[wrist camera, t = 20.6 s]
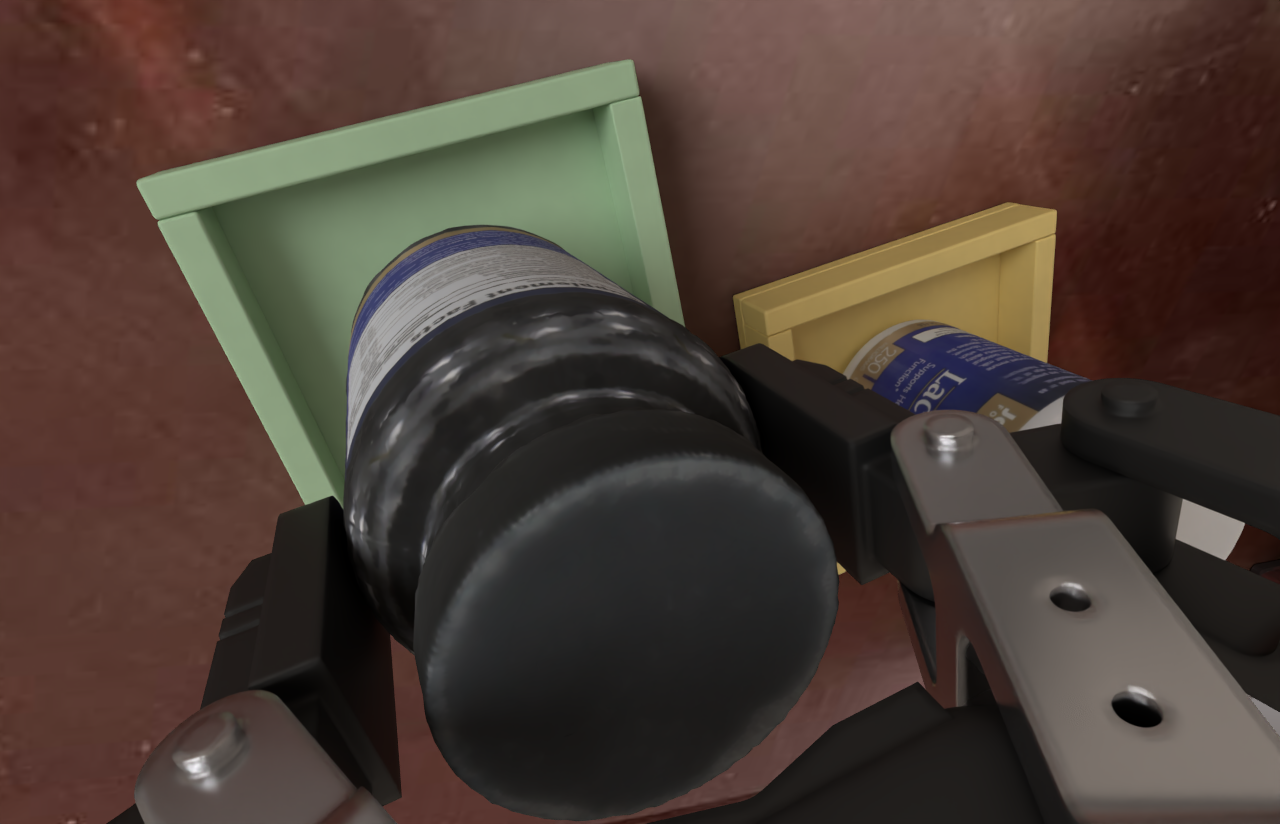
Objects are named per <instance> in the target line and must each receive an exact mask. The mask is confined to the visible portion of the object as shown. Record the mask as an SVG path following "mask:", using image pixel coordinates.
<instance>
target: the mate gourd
mask: <svg viewBox="0 0 1280 824" xmlns="http://www.w3.org/2000/svg"><path fill="white" fill-rule="evenodd" d="M1250 572H1252V573H1255V574H1257V575H1259V576H1262V577H1264V578H1266V579H1268V580H1271V581H1273V582H1275V583H1278V584H1280V560H1276V561H1271V562H1266V563H1260V564H1256V565H1254V566H1253V567H1252V569H1251V571H1250Z"/></svg>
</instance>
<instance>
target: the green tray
mask: <svg viewBox="0 0 1280 824" xmlns="http://www.w3.org/2000/svg"><path fill="white" fill-rule="evenodd" d="M638 95H639V87H638V81H637V76H636V71H635V66H634V62H633V60H630V59H628V60H622V61H616V62H609V63H604V64H600V65H596V66H591V67H587V68H583V69H579V70H575V71H571V72H567V73H563V74H559V75H555V76H550V77H546V78H542V79H538V80H534V81H530V82H526V83H522V84H518V85H513V86H509V87H505V88H501V89H497V90H493V91H489V92H485V93H481V94H477V95H472V96H468V97H464V98H460V99H456V100H452V101H448V102H444V103H440V104H436V105H431V106H427V107H423V108H419V109H415V110H411V111H407V112H403V113H399V114H395V115H390V116H386V117H382V118H378V119H374V120H370V121H366V122H362V123H358V124H354V125H349V126H345V127H341V128H337V129H333V130H329V131H325V132H321V133H317V134H312V135H308V136H304V137H300V138H296V139H292V140H288V141H284V142H280V143H276V144H271V145H267V146H263V147H259V148H255V149H251V150H247V151H243V152H239V153H235V154H230V155H226V156H222V157H218V158H214V159H210V160H206V161H202V162H198V163H194V164H189V165H185V166H181V167H177V168H173V169H169V170H165V171H161V172H158V173H155V174H152V175H150V176H147V177H144V178H141V179H139V180H138V181H136V182H137V187H138V188H139V190H140V192H141V194H142V196H143V198H144V200H145V202H146V204H147V206H148V207H149V209H150V211H151V213H152V215H153V217H154V218H156V219H158V220H160V221H158V227H159V228H160V230H161V232H162V234H163V236H164V238H165V240H166V242H167V244H168V245H169V247H170V249H171V251H172V253H173V255H174V257H175V259H176V261H177V263H178V264H179V266H180V268H181V270H182V272H183V274H184V276H185V278H186V280H187V281H188V283H189V285H190V287H191V289H192V291H193V293H194V295H195V297H196V299H197V300H198V302H199V304H200V306H201V308H202V310H203V312H204V314H205V316H206V317H207V319H208V321H209V323H210V325H211V327H212V329H213V331H214V333H215V335H216V336H217V338H218V340H219V342H220V344H221V346H222V348H223V350H224V352H225V353H226V355H227V357H228V359H229V361H230V363H231V365H232V367H233V369H234V371H235V372H236V374H237V376H238V378H239V380H240V382H241V384H242V386H243V388H244V389H245V391H246V393H247V395H248V397H249V399H250V401H251V403H252V405H253V407H254V408H255V410H256V412H257V414H258V416H259V418H260V420H261V422H262V424H263V426H264V427H265V429H266V431H267V433H268V435H269V437H270V439H271V441H272V443H273V444H274V446H275V448H276V450H277V452H278V454H279V456H280V458H281V460H282V462H283V463H284V465H285V467H286V469H287V471H288V473H289V475H290V477H291V479H292V480H293V482H294V484H295V486H296V488H297V490H298V492H299V494H300V496H301V498H302V499H303V501H304V503H305V505H307V504H310V503H312V502H315V501H318V500H321V499H324V498H326V497H329V496H334V497H335V498H336V499H337V500H338V502H339V503H340V505H341V506H342V508H343V497H344V483H345V458H346V415H347V395H346V378H347V371H348V353H349V344H350V338H351V329H352V324H353V319H354V316H355V314H356V311H357V308H358V306H359V304H360V302H361V299H362V297H363V294H364V292H365V290H366V288H367V286H368V285H369V283H370V282H371V280H372V279H373V278H374V277H375V275H377V274H378V273H379V272H380V271H381V270H382V269H383V268H384V267H385V266H386V265H387V264H388V263H389V262H390V261H392V260H393V259H394V258H395V257H396V256H397V255H398V254H400V253H401V252H402V251H403V250H404V249H406V248H407V247H408V246H410V245H411V244H413V243H414V242H416V241H418V240H420V239H422V238H424V237H427V236H430V235H432V234H435V233H438V232H440V231H443V230H445V229H447V228H452V227H459V226H468V225H497V226H508V227H513V228H518V229H522V230H525V231H527V232H530V233H533V234H536V235H538V236H540V237H543V238H545V239H547V240H550V241H552V242H554V243H556V244H557V245H559V246H560V247H562V248H563V249H564V250H565V251H566V252H568V253H570V254H571V255H573V256H574V257H576V258H577V259H579V260H581V261H582V262H584V263H585V264H587V265H588V266H590V267H592V268H593V269H595V270H596V271H598V272H599V273H601V274H602V275H604V276H605V277H607V278H608V279H610V280H611V281H613V282H614V283H616V284H617V285H619V286H620V287H622V288H623V289H625V290H626V291H628V292H629V293H631V294H633V295H634V296H636V297H637V298H639V299H641V300H642V301H644V302H645V303H647V304H648V305H650V306H651V307H653V308H655V309H656V310H658V311H659V312H661V313H662V314H664V315H665V316H667V317H668V318H670V319H672V320H674V321H676V322H678V323H680V324H681V325H683V326H684V327H685V324H684V319H683V314H682V309H681V303H680V298H679V293H678V288H677V282H676V277H675V272H674V267H673V261H672V256H671V251H670V246H669V240H668V235H667V230H666V225H665V220H664V214H663V209H662V204H661V199H660V193H659V188H658V183H657V178H656V172H655V167H654V162H653V157H652V151H651V146H650V141H649V136H648V130H647V125H646V120H645V115H644V109H643V104H642V99H641V97H640V96H638Z"/></svg>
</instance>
